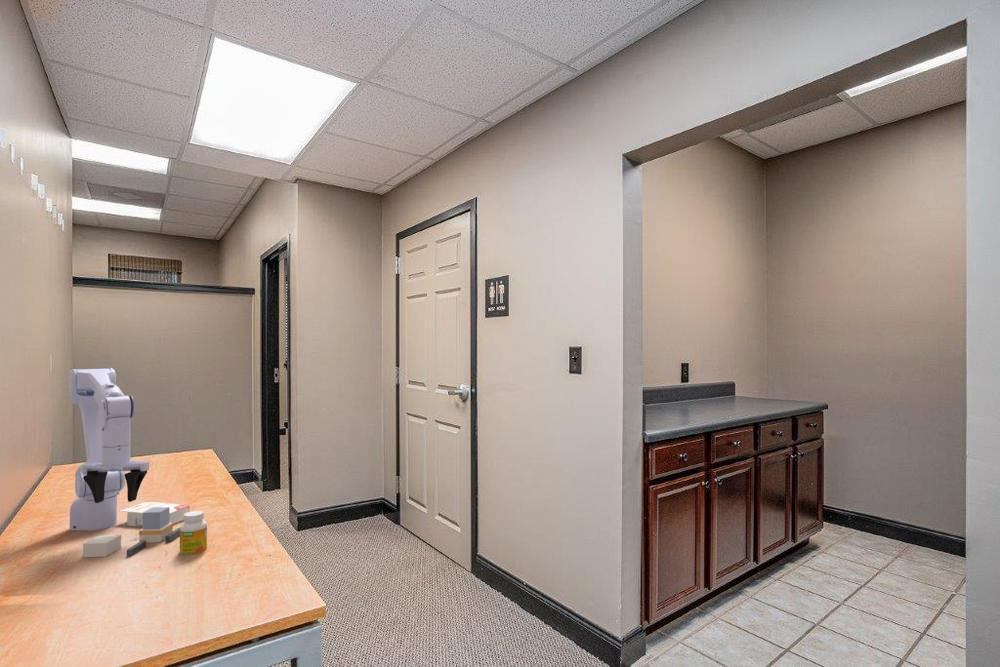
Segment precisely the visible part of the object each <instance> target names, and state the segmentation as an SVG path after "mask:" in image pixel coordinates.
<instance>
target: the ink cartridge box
mask: <svg viewBox="0 0 1000 667" xmlns="http://www.w3.org/2000/svg"><path fill="white" fill-rule="evenodd" d="M154 507H170V508H169V523H173V525H174V524H177V523H179V522H181V521H184V514H185V513H188V512H190V507H191V506H190V505H187V504H177V503H169V502H168V503H166V502H157V501H156V502H155V501H154V502H153V501H151V502H150V501H146V502H145V501H144V502H142V503H139V504H138V503H137V504H136V505H133V506H130V507H126V508H124V509H121V510H119V511H118V512H120V513H122V512H123V513H124V512H125V513H127V516H126V517H127V521H126V525H127V526H131V527H142V528H143V512H145V511H147V510H149V509H151V508H154Z"/></svg>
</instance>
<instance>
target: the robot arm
mask: <svg viewBox="0 0 1000 667" xmlns="http://www.w3.org/2000/svg"><path fill="white" fill-rule="evenodd" d="M67 379H68V380H67V381H68V382H67V383H68V384H67V386H68V387H67V388H68V395H69V399H70V403H73V404H75V405H78V408H79V410H80V414H81V420H82V422H81V423H82V430H83V438H84V446H85V452H86V453H85V454H86V461H85V462H83V463H82V464H81V465H80V466H79V467H77V469H76V471H75V474H74V478H75V479H74V492H75V495H76V499H74V501H72V504H71V505H70V508H69V531H98V530H104V529H107V528H111V527H114V526H116V525H117V524H118V496H119V495H120V492H122V491H123V490H124V488H125V487H127V488H126V489H127V496H126V497H127V502H128V503H130V502H131V503H132V502H133V501H136V500H137V497H138V492H139V490H140V487H141V485H142V482H143V480H144V478H145V477H146V476H147V474H148V471H149V470H150V461H137V460H136V461H133V460H131V424H132V421H131V419H133V417H134V415H135V400H134V397H133V395H131V394H127V395H125V394H124V392H123V391H122V389H120V387H119V386H118V385H117V373H116V370H114V368H112V367H108V368H86V369H83V368H82V369H78V368H77V369H75V368H72V369H71V370H70V371H69V373H68V377H67ZM125 472H126V473H125Z"/></svg>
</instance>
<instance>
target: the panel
mask: <svg viewBox="0 0 1000 667" xmlns="http://www.w3.org/2000/svg"><path fill="white" fill-rule="evenodd" d="M177 538H180V527H178V528H176V529H175V530H174V529H173V532H171V533H170V534H168V535H167V536H165V540H164V541H165V544H169V543H171V542H173V541H174V540H176V539H177ZM133 540H134V542H137V540H138V537H136V538H135V537H134V538H132V539H131V540H130V542H133ZM146 548H147V543H146V540H142V541H140V542H139V541H138V542H137V543H135V544H133V545H132V546H130V547H129V548H127V549H126V550H124V553H125V554H126V558H127V557H133V556H134V555H136V554H138V553H139V552H141V551H142V550H144V549H146Z"/></svg>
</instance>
